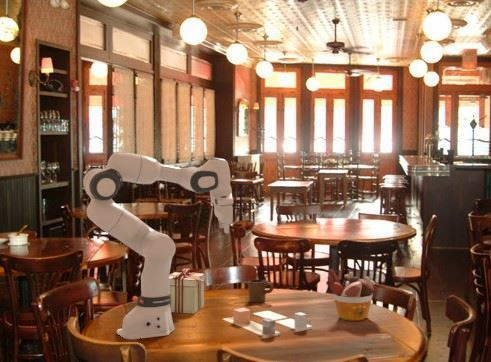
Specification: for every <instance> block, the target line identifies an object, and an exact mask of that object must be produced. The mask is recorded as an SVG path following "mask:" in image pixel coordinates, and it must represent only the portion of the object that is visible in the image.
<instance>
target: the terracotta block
mask: <svg viewBox="0 0 491 362" xmlns="http://www.w3.org/2000/svg"><path fill="white" fill-rule="evenodd" d="M232 313H233V314H232V315H233V316H232V317H233V322H235V323H238V324H245V323H251V321H252V320H251V309H248V308H246V307H239V308H234V309H233V310H232Z"/></svg>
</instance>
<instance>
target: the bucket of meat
mask: <svg viewBox="0 0 491 362" xmlns="http://www.w3.org/2000/svg"><path fill="white" fill-rule="evenodd" d="M343 277H344V278H346V279H345V280H344V281H342V284H341V282H340V280H339V278H338V276H337V274H336V272H335V271H334V269H332V268H330V269H329V275H328V276H327V280H328V282H329V284H330V285H329V288H330V290H331V292H333V293H332V294H333V299H334V303H335V306H336V311H337V316H338V317H339V318H340V319H341V320H343V321H347V320H348V321H347V322H360V320H361V321H364V320H365V319H366V318H367V317H368V316H369V312H370V309H371V303H372V299H373V295H374V292H375V287H374V285H375V284H376V282H375V280H371V278H370V277H369V276H365V277H364V278H365V279H364V278H359V276H358V275H357V276H354V272H353V271H350V272H349V273H347V274H344V276H343Z"/></svg>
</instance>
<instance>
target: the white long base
mask: <svg viewBox="0 0 491 362" xmlns="http://www.w3.org/2000/svg"><path fill="white" fill-rule="evenodd" d="M222 320H224V321H225V322H228V323H231V324H233V325H236V326H238V327H241V328H243V329H244V330H247V331H250V332H252V333H255V334H257V335H258V336H257V337H258V338H261V339H267V338H272V337H273V338H274V337H279V336H282V334H281V331H278V330H276V322H275V321H276V320H273V319H270V318H267V319H266V318H262V324H260V323H258V322H255V321H252V320H251V323H245V324H238V323H235V322H233V316H231V317H226V318H222Z"/></svg>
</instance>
